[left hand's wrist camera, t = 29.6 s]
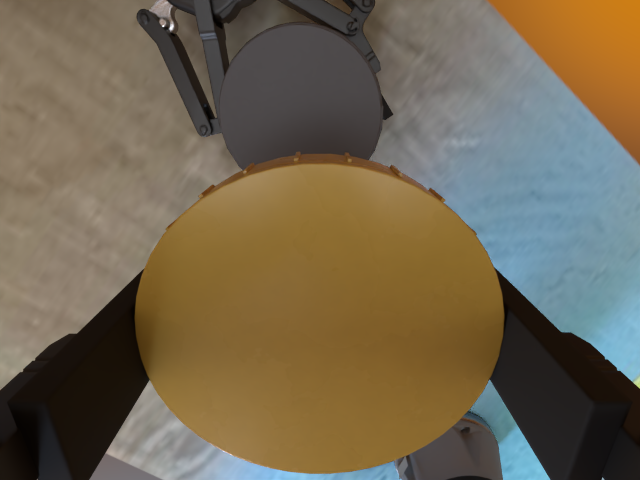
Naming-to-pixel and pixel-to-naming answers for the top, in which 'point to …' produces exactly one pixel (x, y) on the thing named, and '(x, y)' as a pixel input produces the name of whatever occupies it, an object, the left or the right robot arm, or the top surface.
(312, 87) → the jar
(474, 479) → the left robot arm
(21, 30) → the top surface
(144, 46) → the top surface
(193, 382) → the lid
